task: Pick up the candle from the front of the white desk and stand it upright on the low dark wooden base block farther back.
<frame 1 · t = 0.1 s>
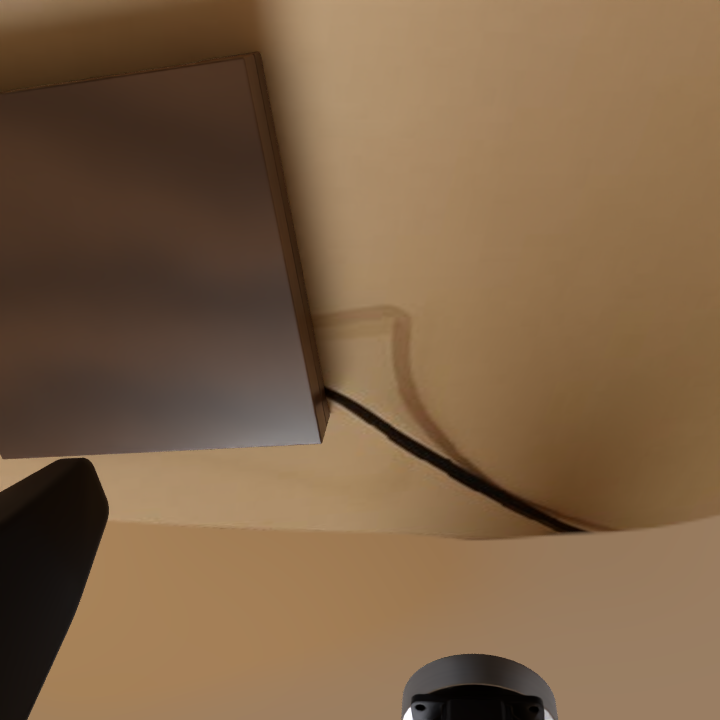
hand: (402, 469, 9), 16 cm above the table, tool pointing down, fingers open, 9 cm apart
dark wooden base block: (124, 274, 26), on the table
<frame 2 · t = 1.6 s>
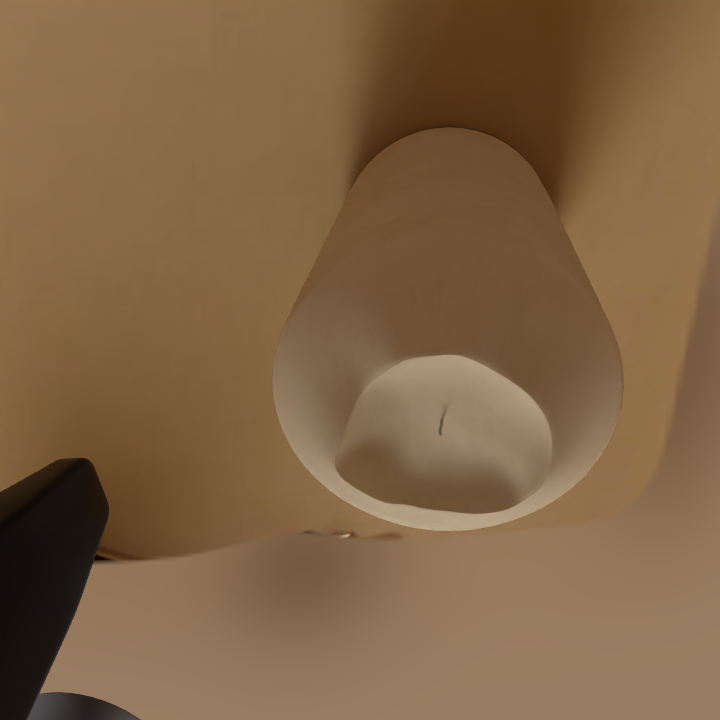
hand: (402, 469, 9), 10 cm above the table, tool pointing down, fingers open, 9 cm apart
candle: (445, 228, 18), on the table
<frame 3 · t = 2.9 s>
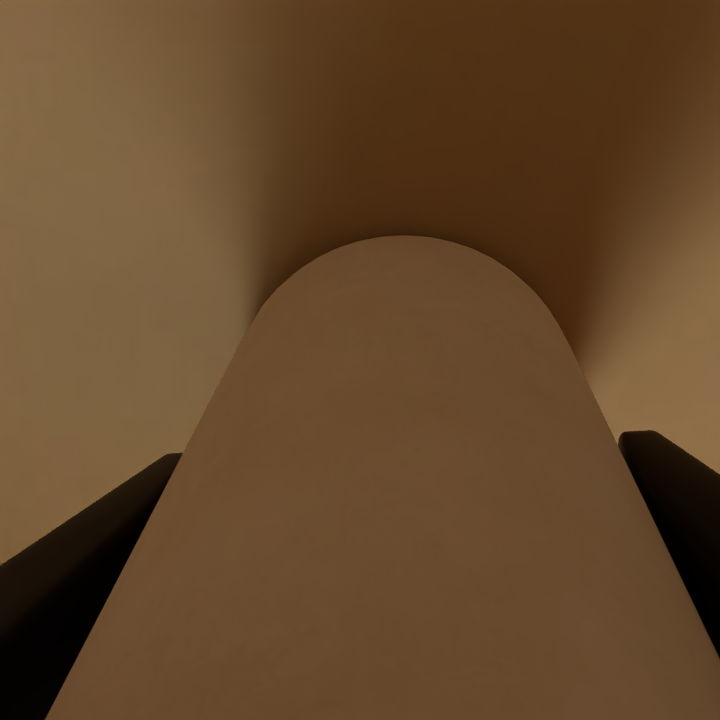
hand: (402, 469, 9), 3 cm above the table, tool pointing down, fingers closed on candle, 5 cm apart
candle: (402, 383, 12), on the table, touching gripper
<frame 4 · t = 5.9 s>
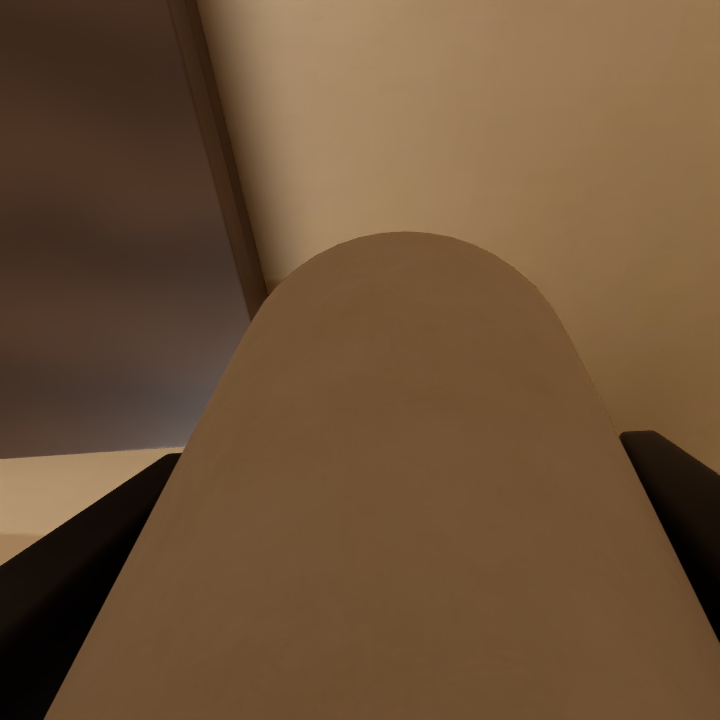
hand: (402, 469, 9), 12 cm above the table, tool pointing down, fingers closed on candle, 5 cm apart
dark wooden base block: (35, 236, 21), on the table
candle: (404, 380, 12), point 9 cm above the table, touching gripper
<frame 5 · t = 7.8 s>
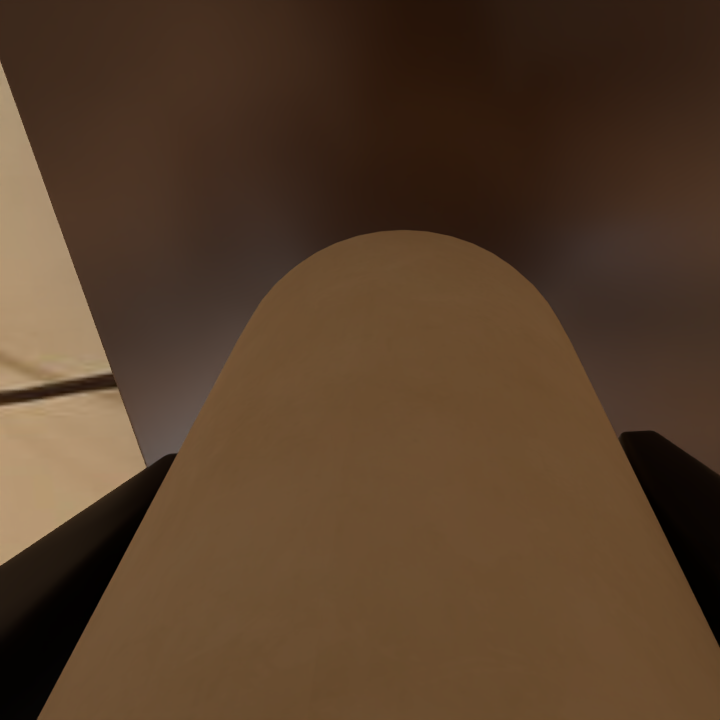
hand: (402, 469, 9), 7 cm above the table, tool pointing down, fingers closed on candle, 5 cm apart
dark wooden base block: (417, 265, 15), on the table
candle: (402, 379, 12), point 5 cm above the table, touching gripper
when the fingers open (5 cm above the table, at t = 8.9 s): candle stays where it is, resting on dark wooden base block.
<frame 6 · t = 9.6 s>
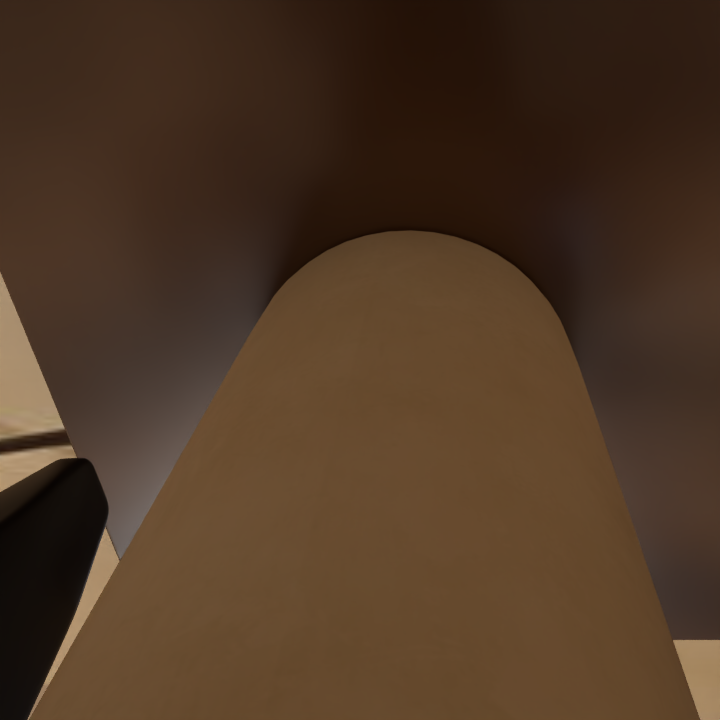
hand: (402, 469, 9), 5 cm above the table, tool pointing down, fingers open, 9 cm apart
dark wooden base block: (418, 315, 13), on the table
candle: (409, 372, 12), point 2 cm above the table, touching dark wooden base block
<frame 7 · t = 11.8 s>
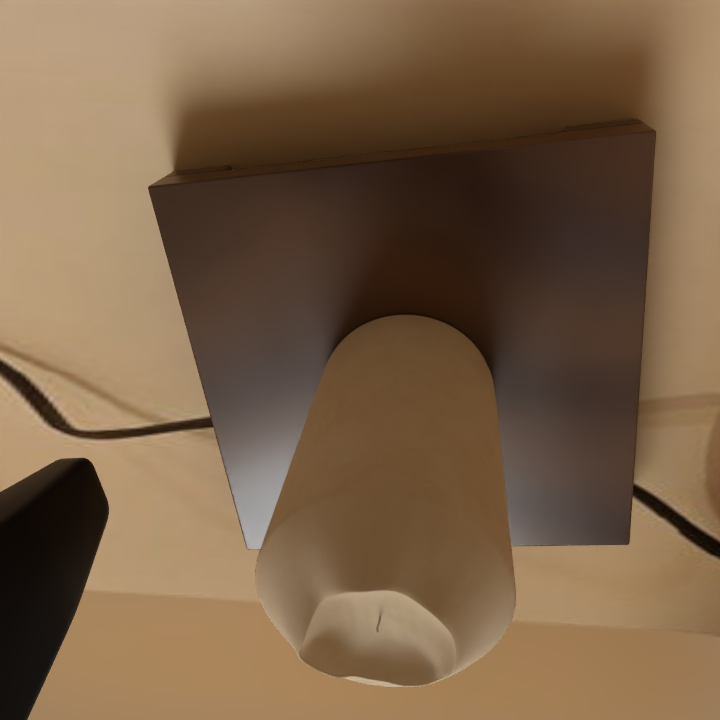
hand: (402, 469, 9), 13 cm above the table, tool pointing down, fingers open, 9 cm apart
dark wooden base block: (413, 353, 23), on the table
candle: (407, 387, 22), point 2 cm above the table, touching dark wooden base block
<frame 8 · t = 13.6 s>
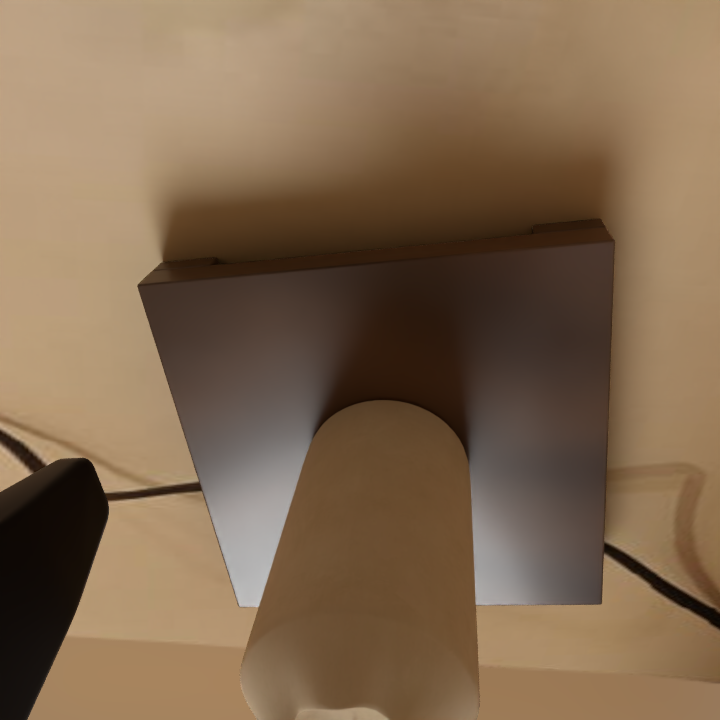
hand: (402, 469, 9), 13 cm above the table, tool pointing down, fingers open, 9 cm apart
dark wooden base block: (394, 426, 24), on the table
candle: (388, 462, 23), point 2 cm above the table, touching dark wooden base block
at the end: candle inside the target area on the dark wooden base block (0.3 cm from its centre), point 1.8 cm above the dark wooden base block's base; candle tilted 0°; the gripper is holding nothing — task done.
